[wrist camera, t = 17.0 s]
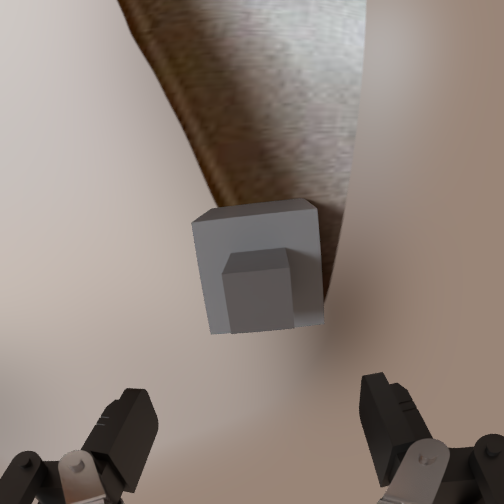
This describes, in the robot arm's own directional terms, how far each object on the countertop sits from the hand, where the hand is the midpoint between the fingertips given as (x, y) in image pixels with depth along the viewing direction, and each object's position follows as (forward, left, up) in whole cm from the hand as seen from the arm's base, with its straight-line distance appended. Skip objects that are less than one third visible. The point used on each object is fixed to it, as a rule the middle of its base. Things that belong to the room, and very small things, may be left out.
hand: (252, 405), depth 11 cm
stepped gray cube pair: (0, 0, -23) cm, 23 cm away
